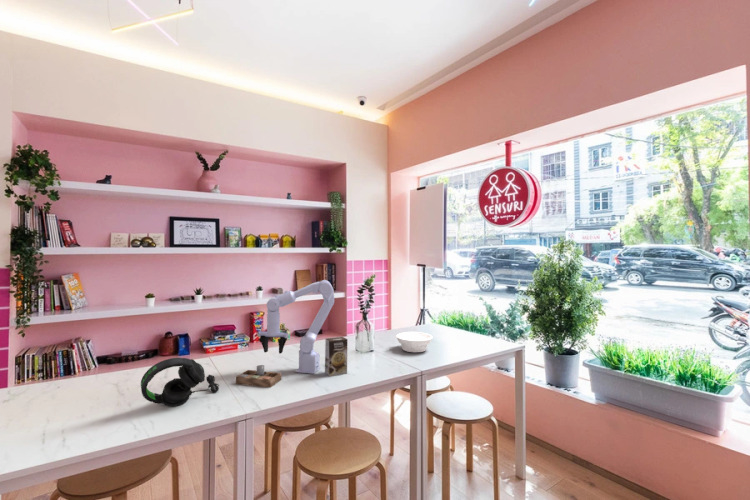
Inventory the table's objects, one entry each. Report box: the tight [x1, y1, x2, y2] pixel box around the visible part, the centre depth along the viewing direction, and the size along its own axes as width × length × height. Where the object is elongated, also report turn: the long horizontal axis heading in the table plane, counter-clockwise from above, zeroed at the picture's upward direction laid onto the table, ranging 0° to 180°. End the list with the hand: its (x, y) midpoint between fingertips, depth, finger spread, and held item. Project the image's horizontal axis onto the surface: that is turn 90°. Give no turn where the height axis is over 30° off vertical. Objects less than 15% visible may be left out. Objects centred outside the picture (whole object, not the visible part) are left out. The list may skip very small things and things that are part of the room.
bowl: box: [395, 331, 434, 353], centre depth 201 cm, size 21×21×8 cm
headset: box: [140, 357, 220, 408], centre depth 131 cm, size 18×14×29 cm
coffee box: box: [324, 336, 348, 377], centre depth 162 cm, size 9×6×16 cm
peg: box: [256, 364, 265, 376], centre depth 152 cm, size 3×3×6 cm
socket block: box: [235, 369, 282, 388], centre depth 151 cm, size 17×9×3 cm, turn 77°
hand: (273, 352), depth 162 cm, fingers open, 7 cm apart
